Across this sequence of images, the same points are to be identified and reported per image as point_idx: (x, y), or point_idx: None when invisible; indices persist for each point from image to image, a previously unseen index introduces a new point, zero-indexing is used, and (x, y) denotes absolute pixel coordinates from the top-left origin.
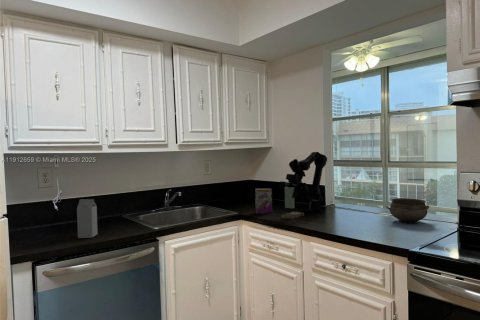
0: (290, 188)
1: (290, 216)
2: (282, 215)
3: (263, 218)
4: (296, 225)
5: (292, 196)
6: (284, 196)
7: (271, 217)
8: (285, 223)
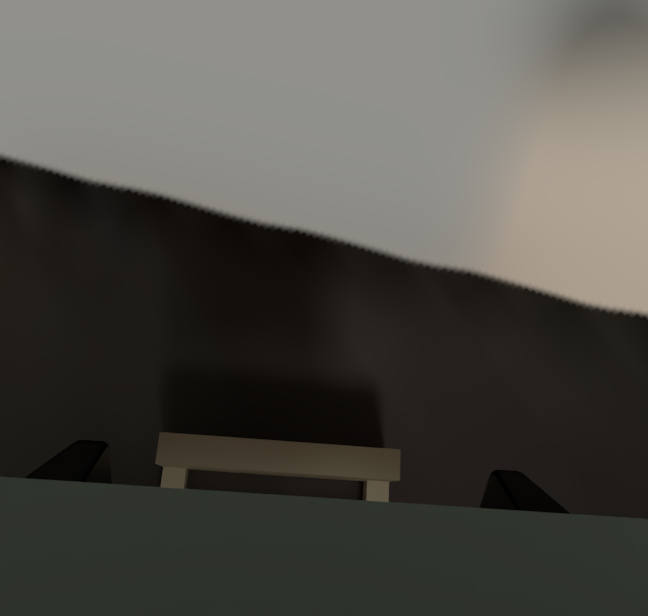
0: (117, 491)
1: (210, 436)
2: (379, 449)
3: (616, 342)
4: (4, 201)
5: (77, 451)
6: (488, 488)
7: (574, 467)
8: (190, 230)
